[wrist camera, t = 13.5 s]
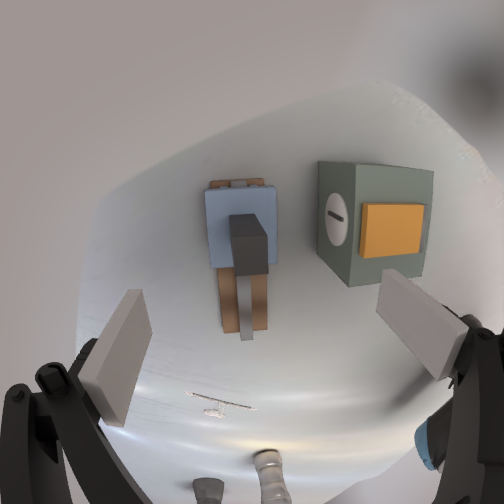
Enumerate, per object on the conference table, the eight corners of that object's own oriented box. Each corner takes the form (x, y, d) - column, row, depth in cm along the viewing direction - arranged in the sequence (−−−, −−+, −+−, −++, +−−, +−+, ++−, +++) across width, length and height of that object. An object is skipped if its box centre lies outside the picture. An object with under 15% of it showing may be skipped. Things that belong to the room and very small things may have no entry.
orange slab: (418, 248, 26) (425, 252, 25) (358, 254, 25) (364, 258, 24) (423, 203, 24) (430, 205, 23) (362, 202, 23) (368, 205, 22)
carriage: (270, 251, 33) (296, 299, 22) (211, 255, 32) (208, 307, 21) (269, 183, 30) (298, 199, 19) (206, 187, 30) (197, 205, 18)
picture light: (257, 407, 45) (259, 415, 43) (247, 419, 46) (248, 427, 44) (185, 388, 42) (184, 397, 40) (178, 402, 43) (177, 410, 41)
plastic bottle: (247, 457, 52) (257, 526, 33) (264, 445, 50) (278, 519, 31) (268, 461, 53) (281, 526, 35) (285, 449, 52) (303, 518, 33)
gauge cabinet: (380, 248, 37) (421, 276, 27) (312, 254, 36) (343, 287, 26) (385, 164, 33) (433, 171, 23) (313, 161, 32) (349, 164, 22)
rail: (265, 323, 38) (269, 337, 35) (223, 327, 38) (224, 342, 35) (262, 178, 32) (267, 180, 28) (211, 181, 31) (209, 183, 28)
